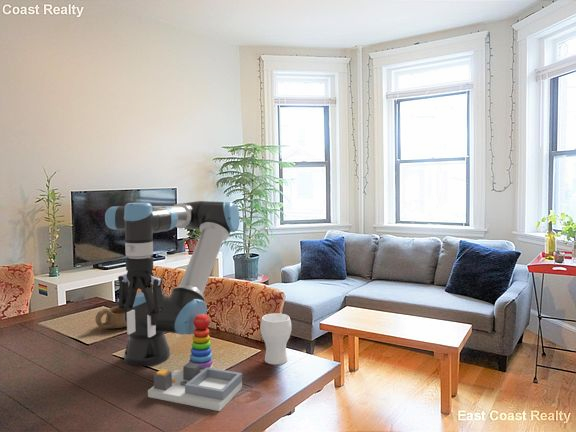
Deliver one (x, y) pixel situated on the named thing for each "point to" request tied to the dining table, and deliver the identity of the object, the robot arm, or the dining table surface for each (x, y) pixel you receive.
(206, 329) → the stacking toy
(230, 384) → the frame
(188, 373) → the toggle
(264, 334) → the cup
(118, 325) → the brown mug
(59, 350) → the dining table surface
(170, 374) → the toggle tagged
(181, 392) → the panel
